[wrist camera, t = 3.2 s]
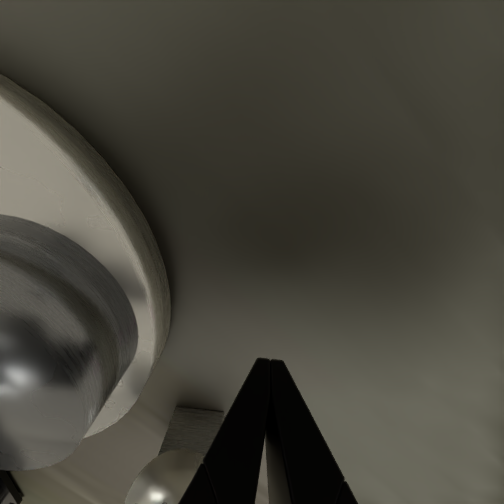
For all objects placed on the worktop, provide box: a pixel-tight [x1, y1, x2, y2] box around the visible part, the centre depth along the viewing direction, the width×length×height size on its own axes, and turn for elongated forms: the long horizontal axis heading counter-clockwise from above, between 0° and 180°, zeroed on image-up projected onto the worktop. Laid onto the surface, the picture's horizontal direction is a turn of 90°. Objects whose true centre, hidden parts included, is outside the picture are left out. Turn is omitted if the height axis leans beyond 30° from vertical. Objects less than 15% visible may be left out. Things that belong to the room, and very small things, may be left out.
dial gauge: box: [124, 407, 224, 504], centre depth 13 cm, size 4×4×6 cm
